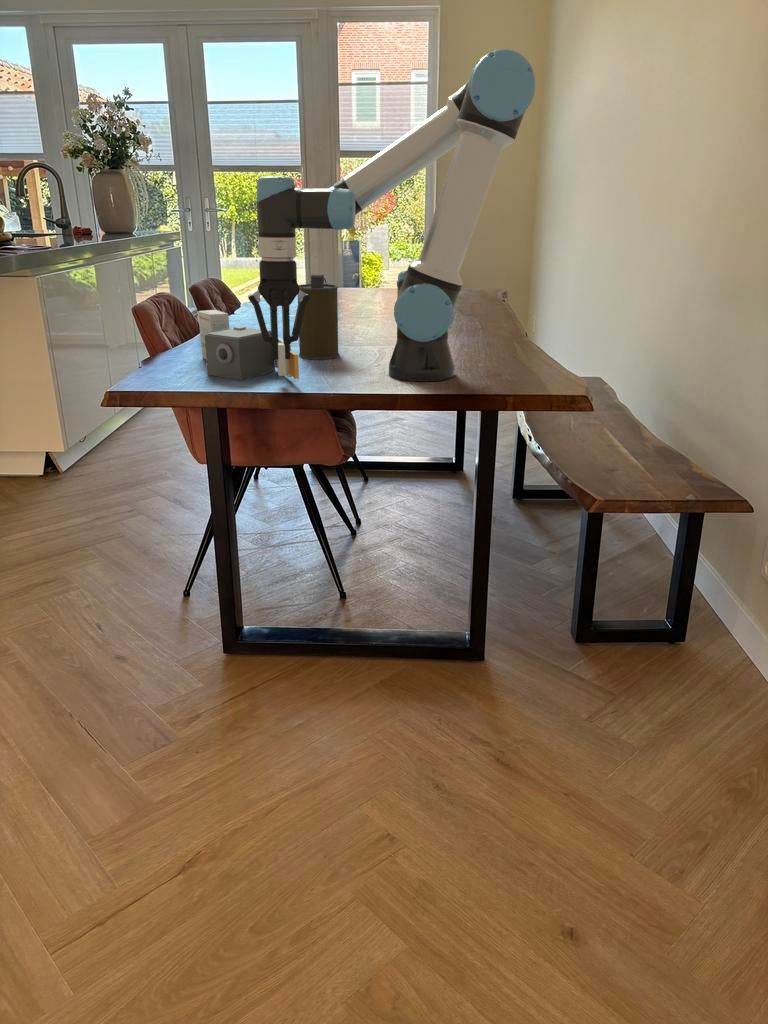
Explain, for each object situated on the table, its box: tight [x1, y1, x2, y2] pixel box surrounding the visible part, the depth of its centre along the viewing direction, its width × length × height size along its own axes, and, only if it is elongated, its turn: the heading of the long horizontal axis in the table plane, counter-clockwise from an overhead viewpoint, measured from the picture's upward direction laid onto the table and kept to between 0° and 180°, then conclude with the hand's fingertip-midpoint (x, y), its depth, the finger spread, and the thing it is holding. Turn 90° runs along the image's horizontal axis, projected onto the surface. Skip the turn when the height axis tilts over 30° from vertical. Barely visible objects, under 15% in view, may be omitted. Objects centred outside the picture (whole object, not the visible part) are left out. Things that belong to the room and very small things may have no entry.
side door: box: [275, 336, 300, 380], centre depth 170 cm, size 1×18×7 cm, turn 21°
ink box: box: [197, 309, 230, 361], centre depth 188 cm, size 9×5×12 cm, turn 33°
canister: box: [297, 274, 340, 361], centre depth 193 cm, size 11×10×20 cm
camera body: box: [205, 325, 276, 381], centre depth 175 cm, size 10×13×10 cm
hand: (281, 374), depth 164 cm, fingers closed
